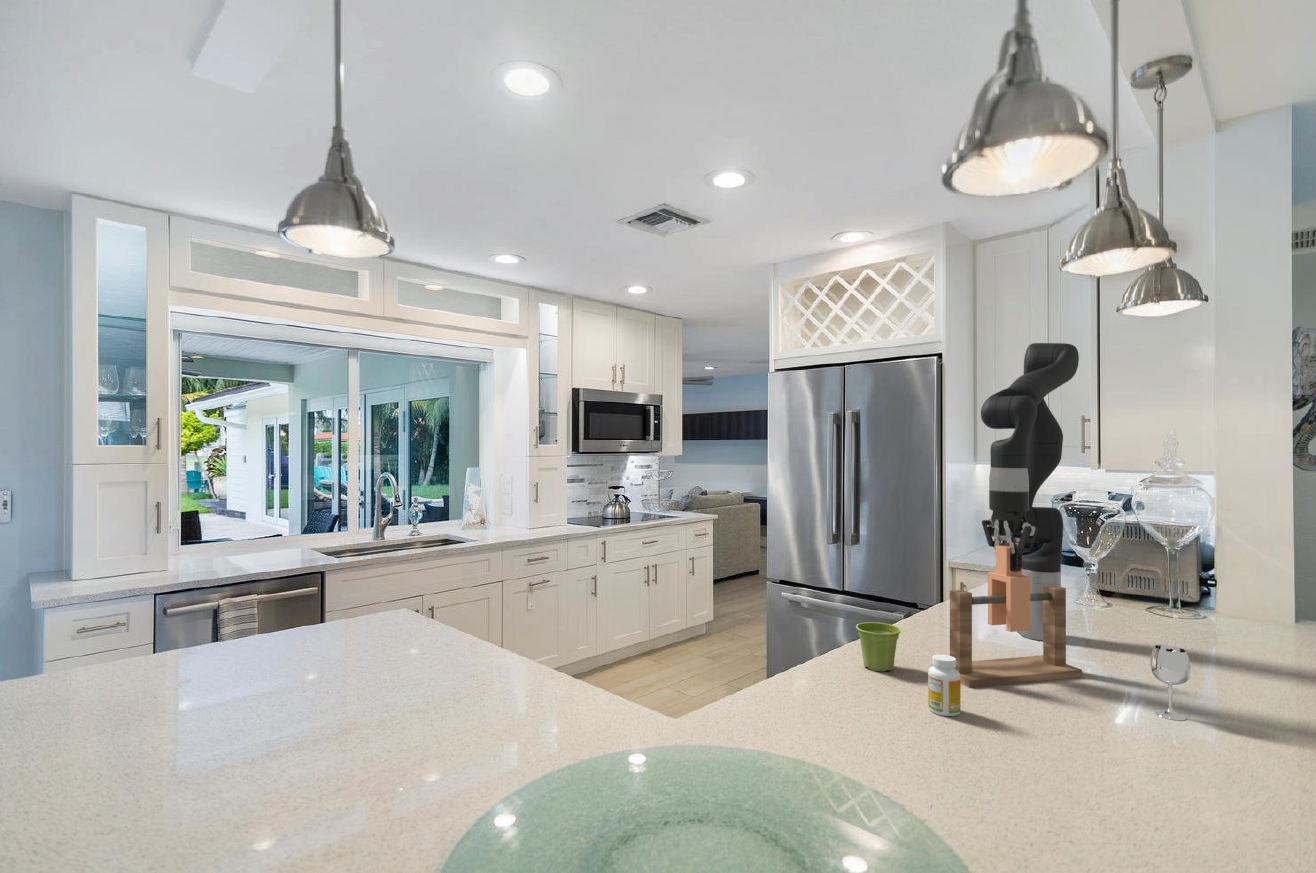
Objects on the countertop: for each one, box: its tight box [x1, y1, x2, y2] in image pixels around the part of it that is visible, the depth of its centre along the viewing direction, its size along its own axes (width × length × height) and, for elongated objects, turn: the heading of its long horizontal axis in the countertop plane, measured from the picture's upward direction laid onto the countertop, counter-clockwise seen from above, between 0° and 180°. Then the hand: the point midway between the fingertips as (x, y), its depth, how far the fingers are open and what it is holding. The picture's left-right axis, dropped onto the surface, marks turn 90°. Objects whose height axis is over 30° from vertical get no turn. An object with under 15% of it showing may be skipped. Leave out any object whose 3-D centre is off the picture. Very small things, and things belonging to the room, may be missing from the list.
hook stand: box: [949, 585, 1083, 689], centre depth 139 cm, size 10×28×18 cm, turn 104°
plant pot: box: [855, 621, 902, 673], centre depth 143 cm, size 9×9×9 cm
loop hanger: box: [987, 544, 1031, 633], centre depth 140 cm, size 6×5×17 cm
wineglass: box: [1149, 644, 1192, 721], centre depth 118 cm, size 6×6×12 cm
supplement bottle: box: [927, 654, 962, 717], centre depth 119 cm, size 5×5×10 cm
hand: (1008, 569), depth 140 cm, fingers closed on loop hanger, 3 cm apart
